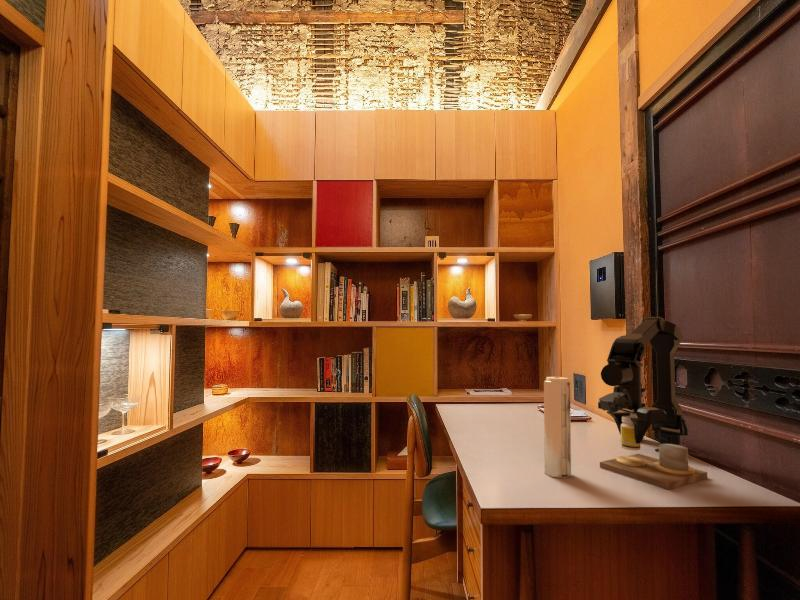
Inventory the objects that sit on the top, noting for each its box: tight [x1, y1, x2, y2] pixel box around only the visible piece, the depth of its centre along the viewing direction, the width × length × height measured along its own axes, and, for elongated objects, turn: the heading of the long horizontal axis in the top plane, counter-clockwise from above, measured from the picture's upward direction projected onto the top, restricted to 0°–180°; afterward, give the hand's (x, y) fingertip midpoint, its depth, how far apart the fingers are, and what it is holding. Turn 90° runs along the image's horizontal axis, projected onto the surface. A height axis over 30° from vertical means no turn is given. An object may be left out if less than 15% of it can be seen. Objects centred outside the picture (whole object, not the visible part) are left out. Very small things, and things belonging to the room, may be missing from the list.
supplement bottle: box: [620, 416, 641, 451], centre depth 116 cm, size 5×5×8 cm
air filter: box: [543, 376, 572, 479], centre depth 110 cm, size 6×6×25 cm
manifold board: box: [599, 443, 708, 490], centre depth 112 cm, size 18×18×7 cm
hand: (630, 440), depth 116 cm, fingers closed on supplement bottle, 5 cm apart
